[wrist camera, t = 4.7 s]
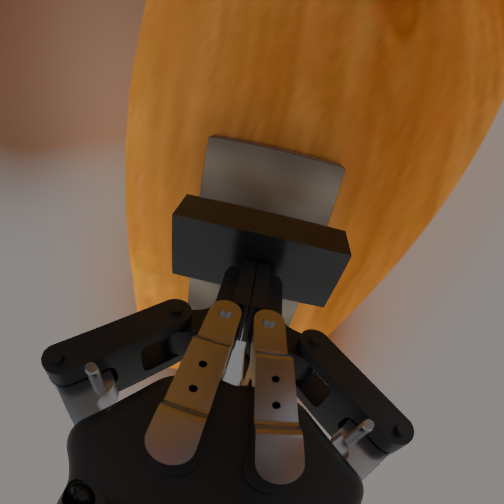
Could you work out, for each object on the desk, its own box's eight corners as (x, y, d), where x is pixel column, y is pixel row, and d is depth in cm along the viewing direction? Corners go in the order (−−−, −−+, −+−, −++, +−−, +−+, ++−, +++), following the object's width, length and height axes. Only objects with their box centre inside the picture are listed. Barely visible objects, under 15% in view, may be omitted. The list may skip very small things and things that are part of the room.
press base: (214, 134, 23) (168, 151, 14) (340, 164, 24) (379, 201, 14) (190, 323, 35) (164, 389, 26) (277, 343, 35) (273, 413, 26)
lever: (196, 182, 16) (172, 214, 13) (341, 216, 16) (351, 256, 13) (189, 355, 29) (180, 384, 26) (265, 372, 29) (261, 402, 26)
